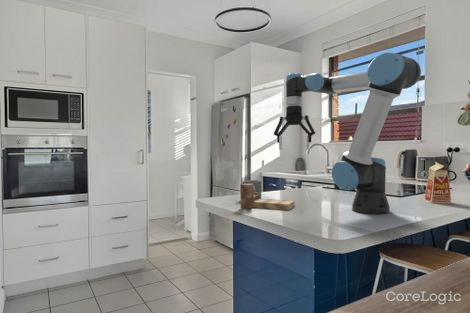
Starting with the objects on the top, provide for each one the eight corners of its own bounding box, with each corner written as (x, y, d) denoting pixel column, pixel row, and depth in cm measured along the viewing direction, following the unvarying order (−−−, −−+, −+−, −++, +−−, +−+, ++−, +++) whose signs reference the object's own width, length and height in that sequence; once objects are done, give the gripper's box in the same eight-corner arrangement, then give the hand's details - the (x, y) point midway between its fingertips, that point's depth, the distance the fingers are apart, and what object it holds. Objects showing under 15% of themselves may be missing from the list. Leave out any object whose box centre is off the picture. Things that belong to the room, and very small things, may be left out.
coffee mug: (244, 198, 177) (244, 180, 177) (262, 198, 175) (262, 180, 175) (240, 202, 164) (239, 182, 164) (259, 202, 162) (259, 183, 162)
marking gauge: (261, 203, 160) (261, 181, 159) (249, 209, 145) (249, 185, 145) (253, 203, 162) (253, 181, 161) (240, 208, 147) (240, 184, 147)
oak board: (294, 206, 152) (294, 200, 152) (289, 210, 143) (289, 204, 143) (251, 203, 161) (251, 197, 161) (243, 206, 152) (243, 201, 152)
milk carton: (423, 200, 166) (424, 161, 165) (443, 200, 165) (443, 161, 164) (432, 203, 157) (432, 162, 156) (452, 203, 156) (453, 162, 155)
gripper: (321, 105, 156) (321, 149, 157) (271, 108, 167) (272, 149, 167) (318, 103, 149) (318, 149, 150) (267, 106, 160) (267, 149, 160)
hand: (294, 149), depth 159 cm, fingers open, 13 cm apart
